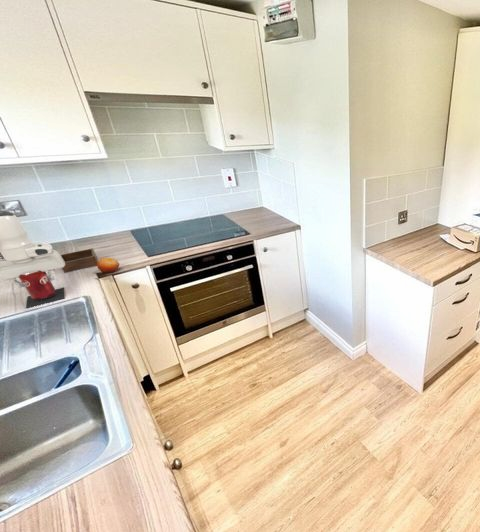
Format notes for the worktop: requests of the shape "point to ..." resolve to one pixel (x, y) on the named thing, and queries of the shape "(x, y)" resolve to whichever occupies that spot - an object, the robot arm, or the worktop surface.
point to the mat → (57, 296)
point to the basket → (79, 260)
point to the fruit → (107, 265)
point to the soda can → (38, 285)
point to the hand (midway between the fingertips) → (37, 283)
